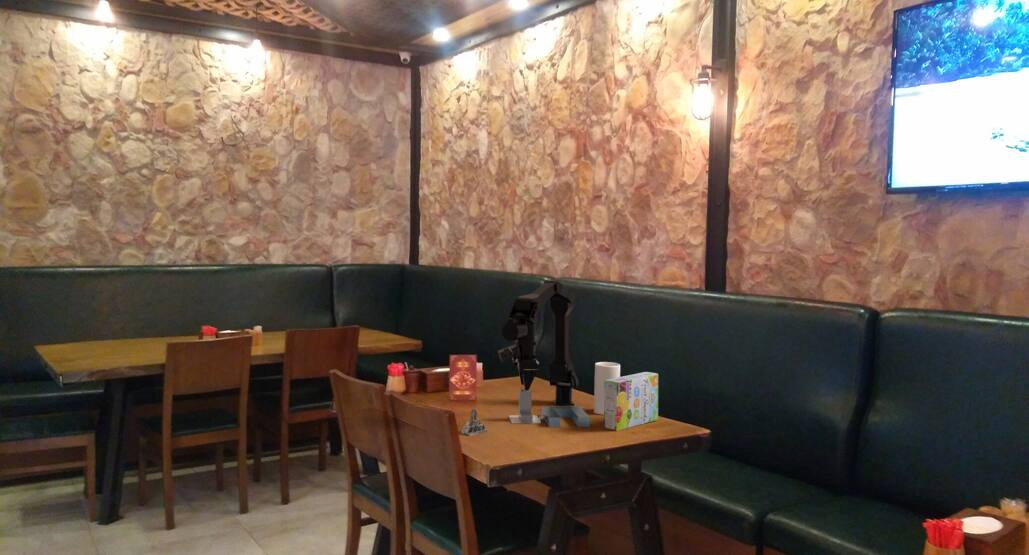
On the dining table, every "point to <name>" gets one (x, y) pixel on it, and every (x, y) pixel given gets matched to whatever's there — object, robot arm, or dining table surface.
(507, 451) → the dining table surface
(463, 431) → the house of cards
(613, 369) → the cup
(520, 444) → the dining table surface
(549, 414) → the frame
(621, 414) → the snack box
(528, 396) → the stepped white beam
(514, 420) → the tile
